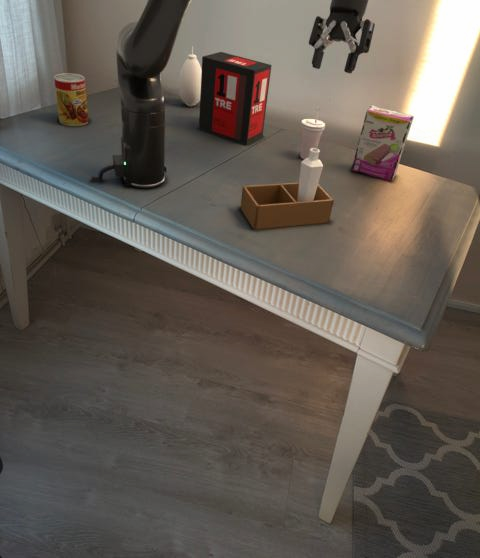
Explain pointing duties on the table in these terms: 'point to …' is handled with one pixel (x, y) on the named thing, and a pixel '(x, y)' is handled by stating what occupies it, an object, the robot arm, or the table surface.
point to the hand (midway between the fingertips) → (331, 70)
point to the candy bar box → (381, 142)
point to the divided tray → (283, 206)
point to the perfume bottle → (309, 176)
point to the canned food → (71, 99)
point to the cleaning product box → (233, 97)
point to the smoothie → (310, 134)
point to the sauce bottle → (190, 81)
